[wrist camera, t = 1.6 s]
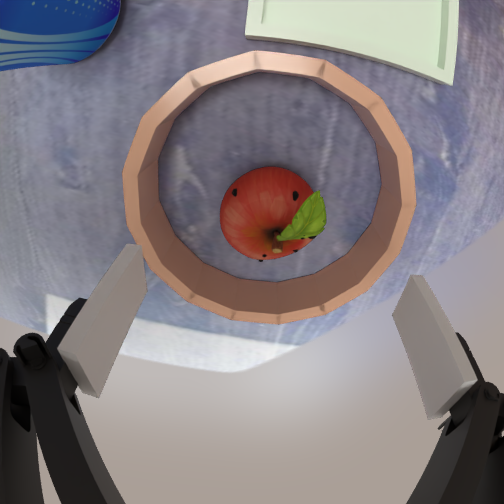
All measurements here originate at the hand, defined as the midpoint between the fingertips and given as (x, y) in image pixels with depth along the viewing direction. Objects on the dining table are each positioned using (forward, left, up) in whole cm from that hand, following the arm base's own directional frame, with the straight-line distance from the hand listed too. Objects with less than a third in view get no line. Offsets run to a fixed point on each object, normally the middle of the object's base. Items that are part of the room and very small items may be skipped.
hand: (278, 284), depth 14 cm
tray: (+5, +20, -12) cm, 24 cm away
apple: (0, 0, -13) cm, 13 cm away
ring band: (0, 0, -12) cm, 12 cm away
